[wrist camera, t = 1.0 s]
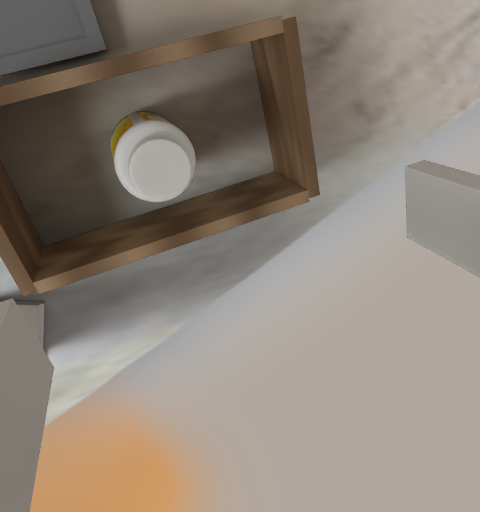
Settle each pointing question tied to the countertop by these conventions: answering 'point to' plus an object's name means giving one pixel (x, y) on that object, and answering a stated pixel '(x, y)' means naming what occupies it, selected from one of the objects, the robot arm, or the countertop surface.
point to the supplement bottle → (152, 157)
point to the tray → (46, 33)
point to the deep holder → (187, 212)
